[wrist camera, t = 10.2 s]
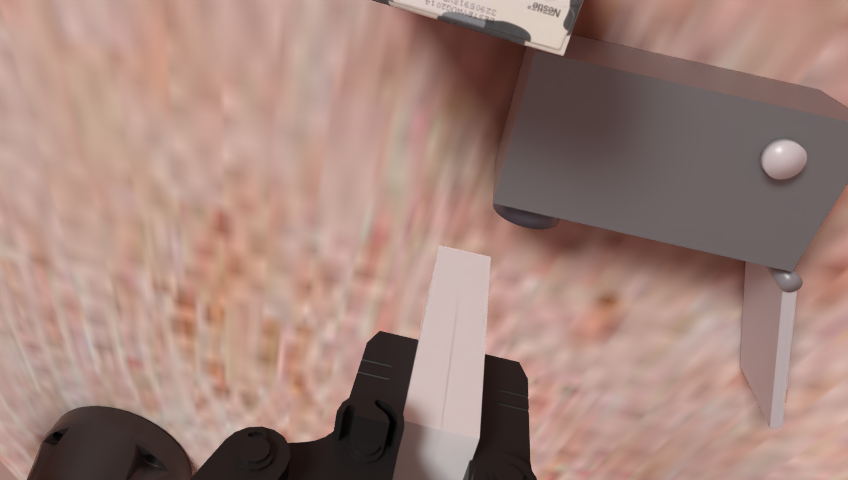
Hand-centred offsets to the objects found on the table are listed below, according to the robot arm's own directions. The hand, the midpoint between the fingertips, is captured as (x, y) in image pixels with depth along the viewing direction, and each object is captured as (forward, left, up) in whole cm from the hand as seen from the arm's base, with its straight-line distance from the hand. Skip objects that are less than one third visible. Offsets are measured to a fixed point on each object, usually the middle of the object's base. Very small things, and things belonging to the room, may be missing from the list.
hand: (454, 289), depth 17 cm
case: (+11, -1, -24) cm, 27 cm away
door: (+23, -12, -24) cm, 35 cm away
